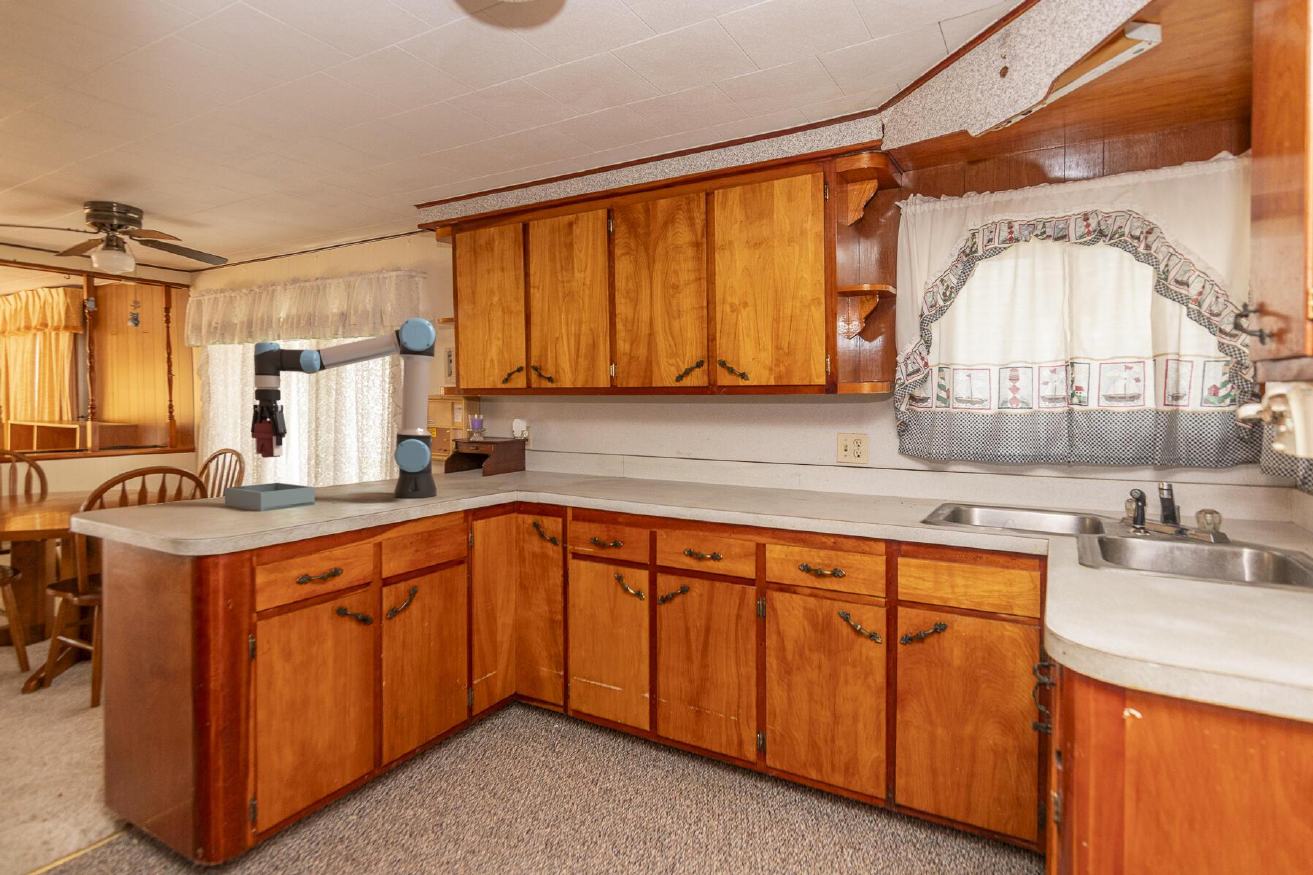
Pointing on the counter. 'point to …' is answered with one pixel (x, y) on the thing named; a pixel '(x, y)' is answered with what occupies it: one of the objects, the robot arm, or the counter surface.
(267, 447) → the mechanical component
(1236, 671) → the counter surface
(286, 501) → the tote
